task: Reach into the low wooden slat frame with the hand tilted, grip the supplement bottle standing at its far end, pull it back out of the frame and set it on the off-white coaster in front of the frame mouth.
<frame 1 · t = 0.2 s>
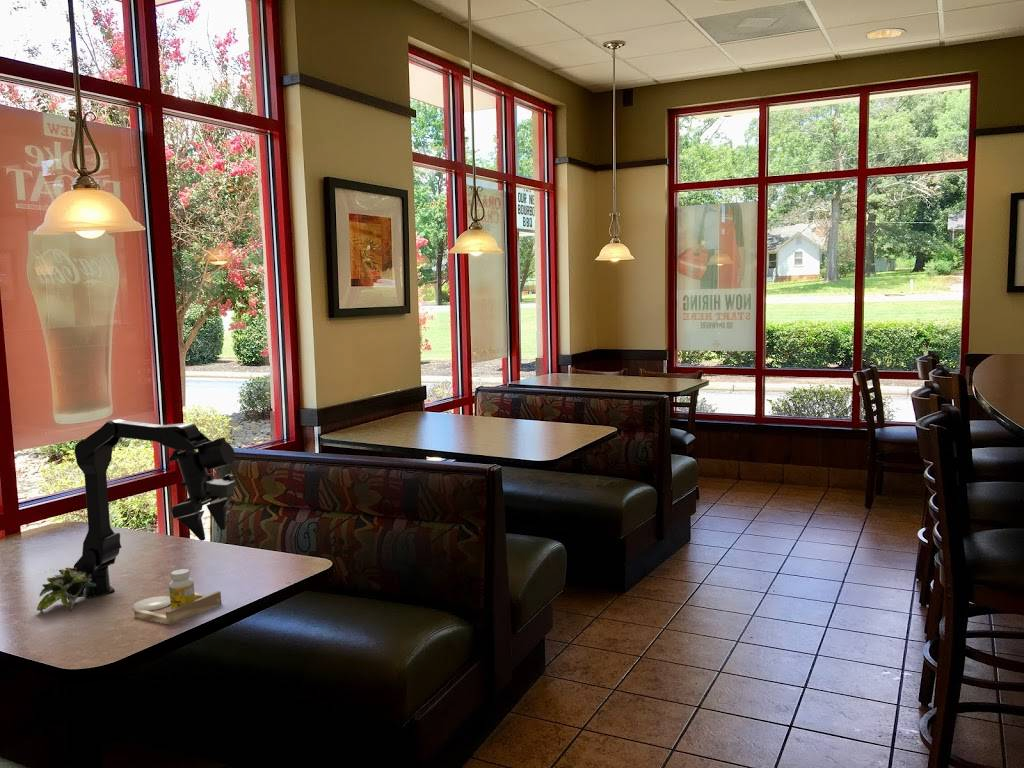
hand: (213, 534, 202), 15 cm above the table, tool pointing down, fingers open, 9 cm apart
coaster: (153, 604, 198), on the table
supplement bottle: (183, 612, 193), on the table
wooden slat frame: (183, 611, 193), on the table
green leafy plant: (69, 607, 200), on the table
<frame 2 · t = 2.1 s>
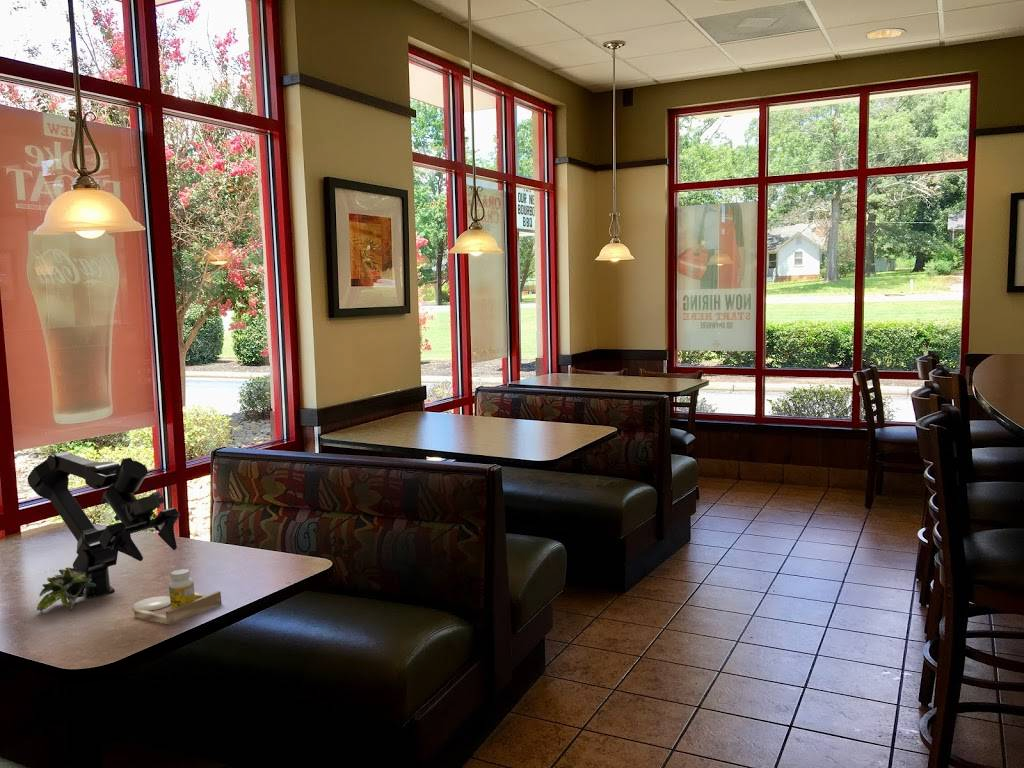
hand: (159, 554, 195), 13 cm above the table, tool tilted 45°, fingers open, 9 cm apart
nothing on the table moved.
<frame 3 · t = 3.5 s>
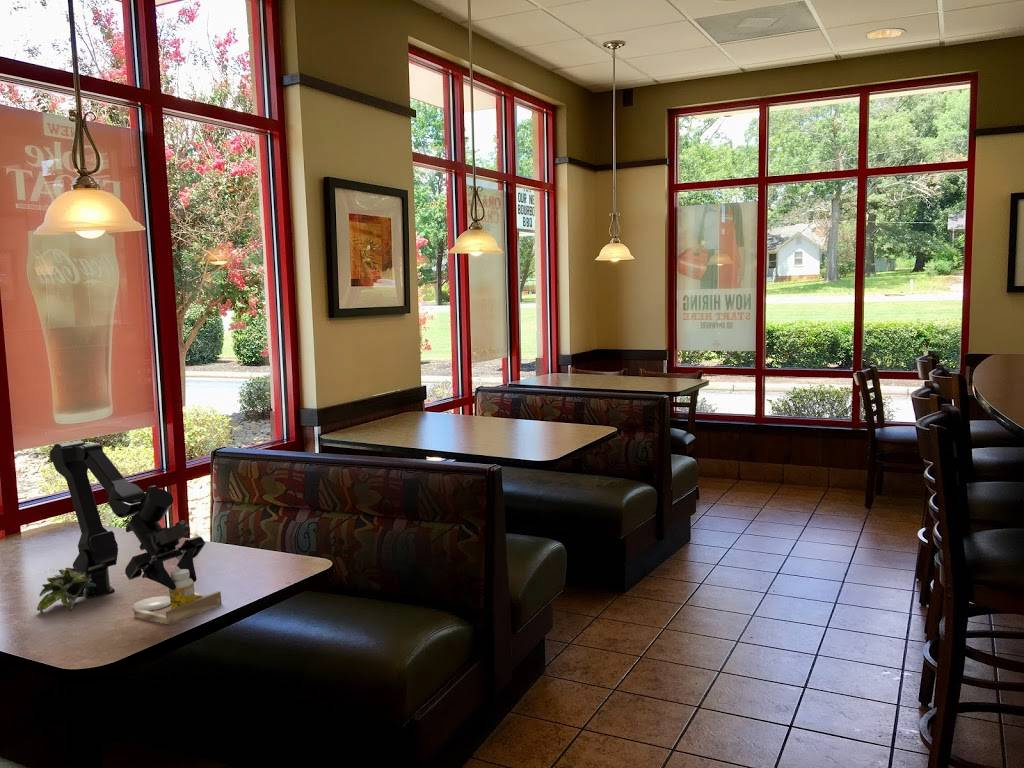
hand: (185, 584, 192), 7 cm above the table, tool tilted 45°, fingers closed on supplement bottle, 5 cm apart
supplement bottle: (183, 612, 193), on the table, touching gripper
everything else where it was.
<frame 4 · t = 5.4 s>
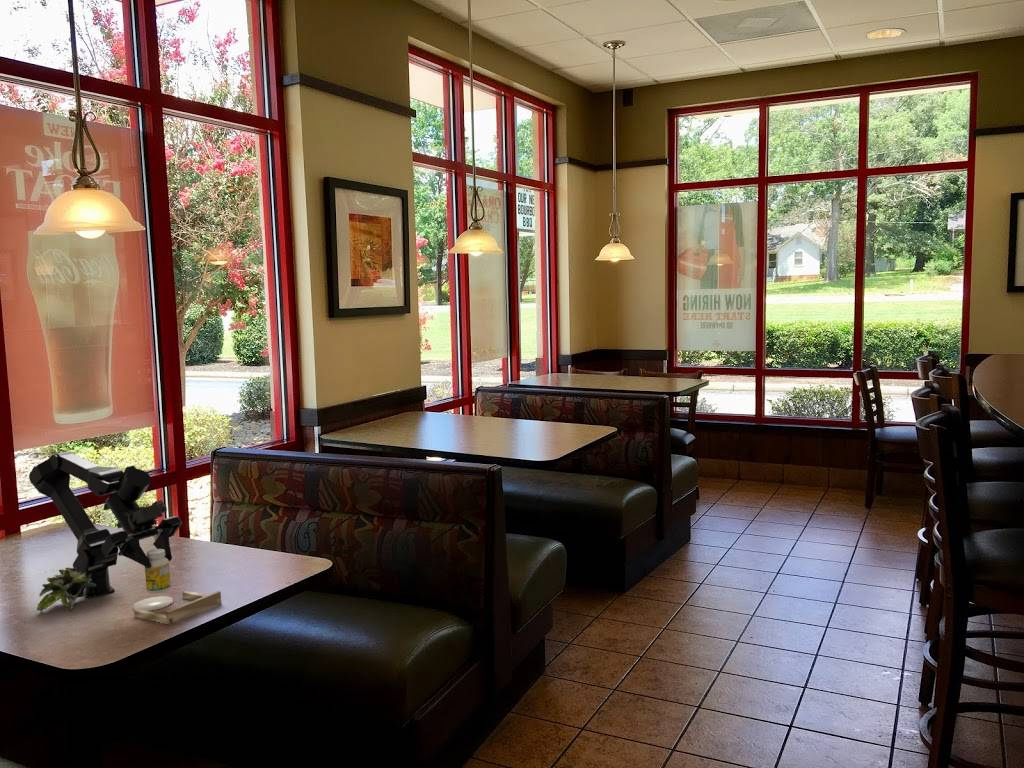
hand: (160, 563, 195), 11 cm above the table, tool tilted 45°, fingers closed on supplement bottle, 5 cm apart
supplement bottle: (158, 590, 197), point 4 cm above the table, touching gripper
everything else where it was.
when the fingers open (7 cm above the table, at t = 6.8 s): supplement bottle stays where it is, resting on coaster.
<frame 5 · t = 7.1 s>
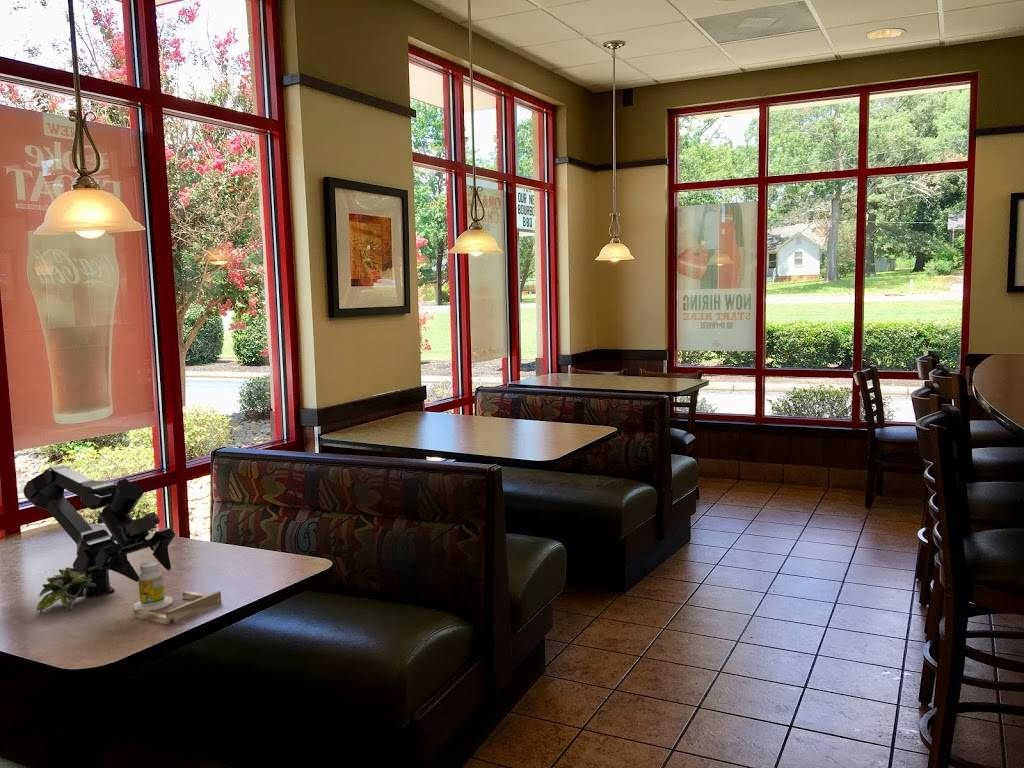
hand: (154, 574, 197), 8 cm above the table, tool tilted 45°, fingers open, 8 cm apart
supplement bottle: (152, 603, 198), resting on coaster
everything else where it was.
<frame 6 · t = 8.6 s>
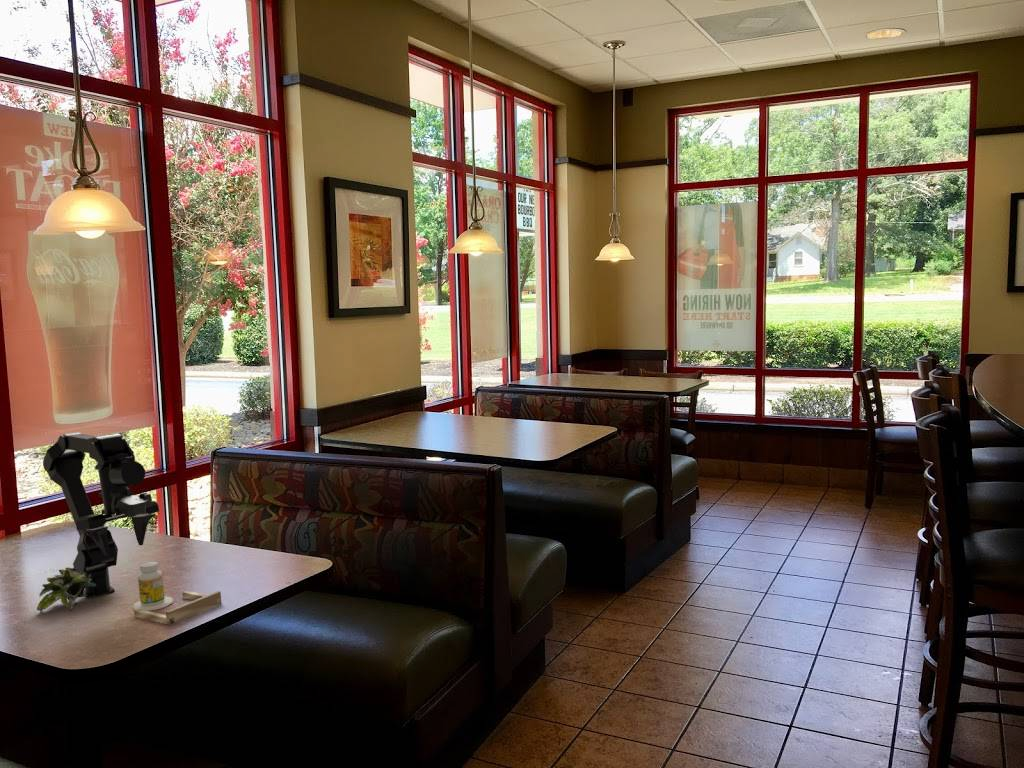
hand: (124, 550, 199), 13 cm above the table, tool pointing down, fingers open, 9 cm apart
nothing on the table moved.
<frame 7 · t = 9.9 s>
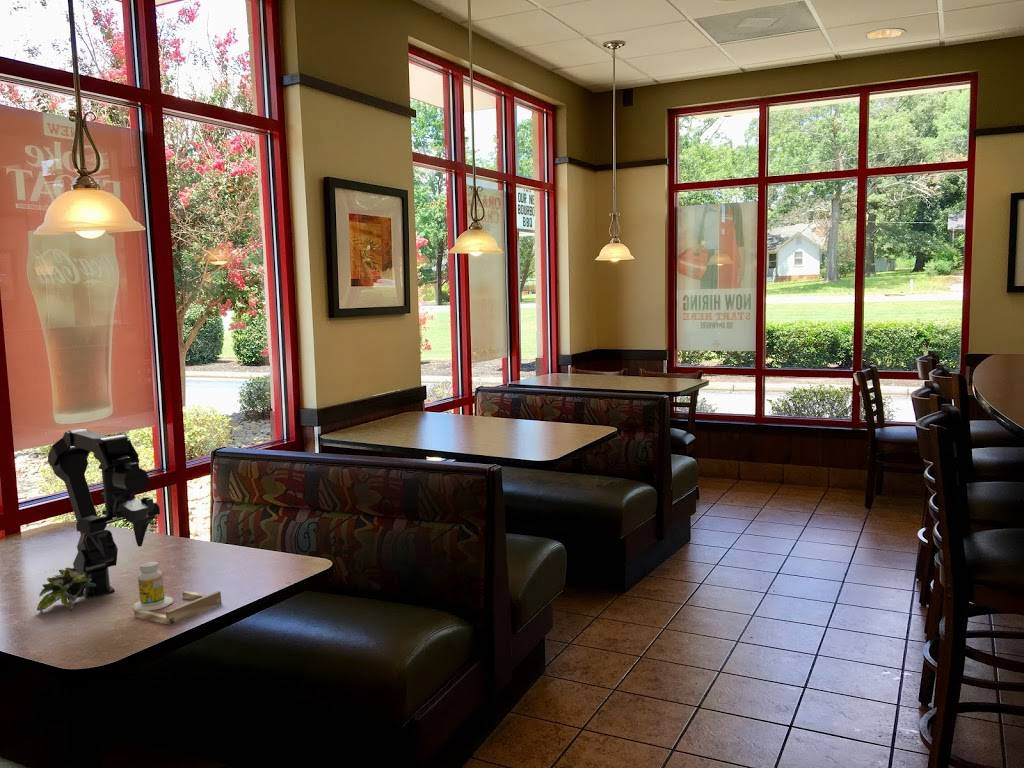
hand: (122, 551, 199), 13 cm above the table, tool pointing down, fingers open, 9 cm apart
nothing on the table moved.
at the end: supplement bottle 0.2 cm from the coaster (horizontally); supplement bottle tilted 0°; the gripper is holding nothing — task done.
